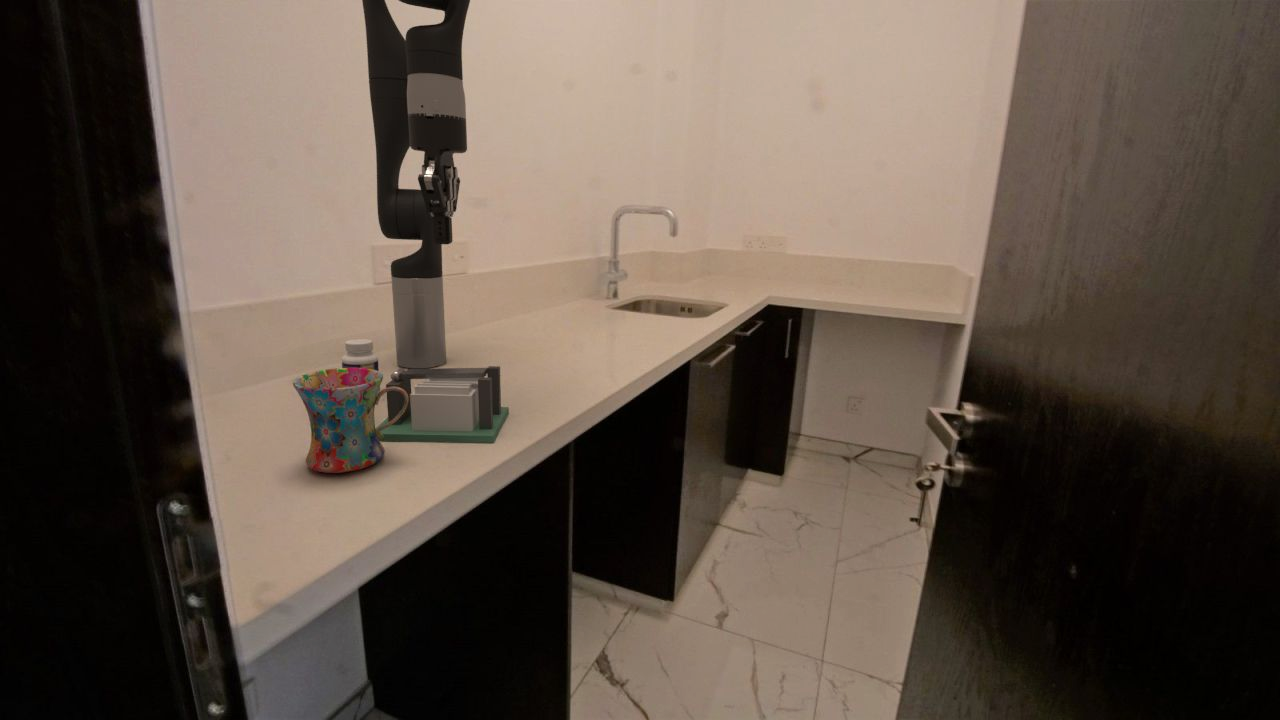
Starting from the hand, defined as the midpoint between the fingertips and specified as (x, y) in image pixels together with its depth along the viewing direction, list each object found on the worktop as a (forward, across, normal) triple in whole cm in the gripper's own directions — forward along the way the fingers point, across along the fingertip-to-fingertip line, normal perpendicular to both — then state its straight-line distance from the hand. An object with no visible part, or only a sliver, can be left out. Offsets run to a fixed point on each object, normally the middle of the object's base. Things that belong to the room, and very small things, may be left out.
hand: (443, 243), depth 84 cm
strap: (+18, +8, +1) cm, 19 cm away
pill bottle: (+26, -6, -16) cm, 31 cm away
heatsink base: (+25, +8, +1) cm, 26 cm away
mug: (+25, +21, -6) cm, 33 cm away
